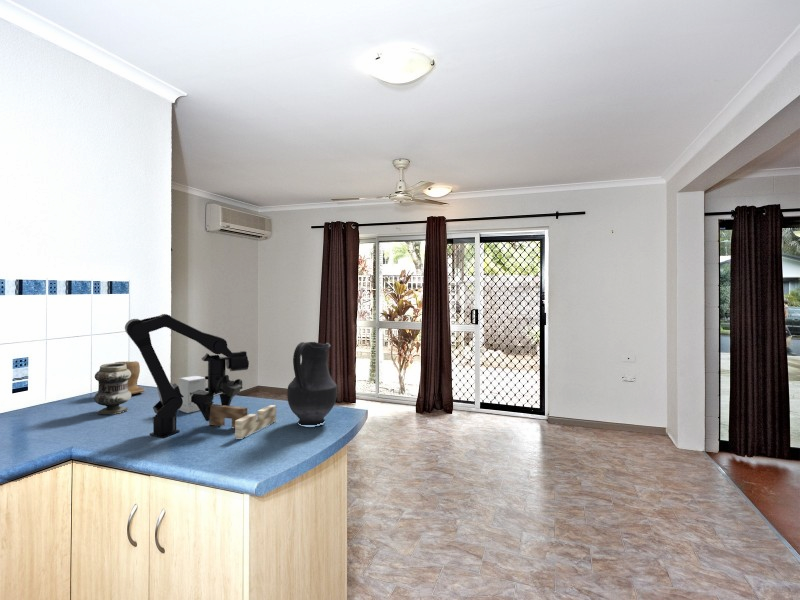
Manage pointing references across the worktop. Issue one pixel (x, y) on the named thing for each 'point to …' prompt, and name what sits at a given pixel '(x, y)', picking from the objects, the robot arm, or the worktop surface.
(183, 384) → the supplement box
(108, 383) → the apothecary jar
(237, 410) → the walnut bar
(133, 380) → the curved wooden stand
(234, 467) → the worktop surface
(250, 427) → the birch rail
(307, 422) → the pitcher
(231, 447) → the worktop surface
